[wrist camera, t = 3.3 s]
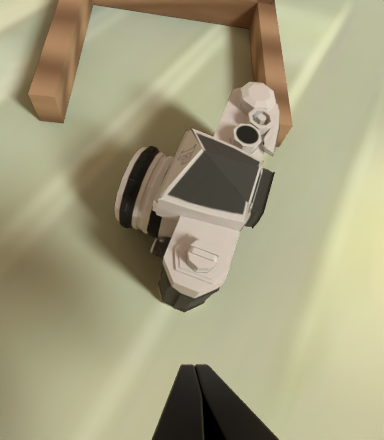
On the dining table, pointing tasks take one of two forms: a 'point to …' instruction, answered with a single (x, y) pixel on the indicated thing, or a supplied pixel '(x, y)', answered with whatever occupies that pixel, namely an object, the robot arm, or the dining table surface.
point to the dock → (168, 6)
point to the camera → (203, 195)
